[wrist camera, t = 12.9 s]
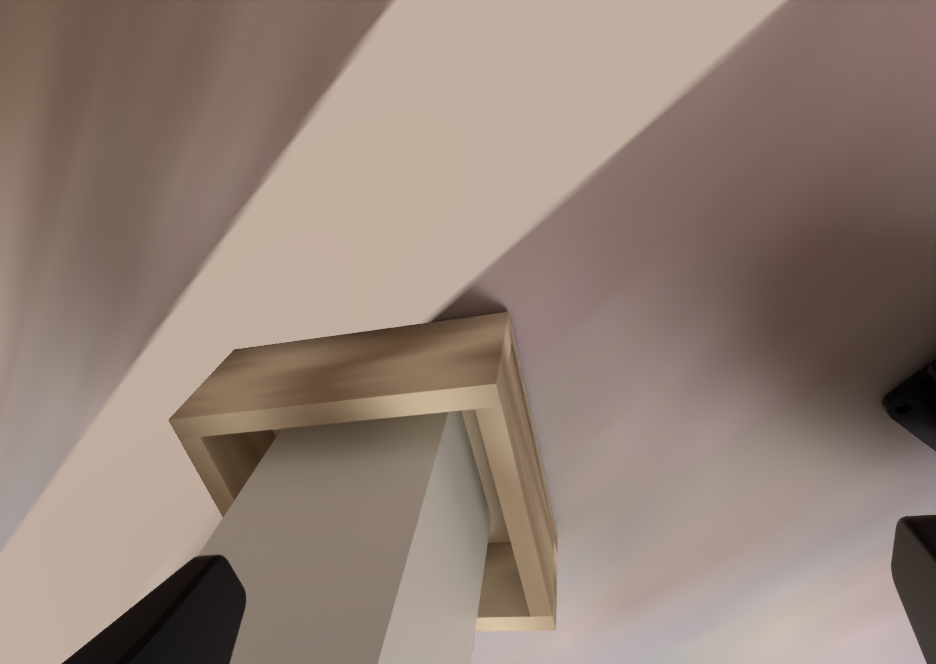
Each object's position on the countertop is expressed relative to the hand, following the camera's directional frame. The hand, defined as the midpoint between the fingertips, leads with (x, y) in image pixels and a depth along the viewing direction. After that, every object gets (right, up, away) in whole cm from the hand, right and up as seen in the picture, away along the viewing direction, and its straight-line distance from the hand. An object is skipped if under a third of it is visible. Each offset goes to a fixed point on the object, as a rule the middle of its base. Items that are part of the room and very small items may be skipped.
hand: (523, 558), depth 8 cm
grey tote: (-4, -2, +16) cm, 16 cm away
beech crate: (-3, -2, +17) cm, 17 cm away
